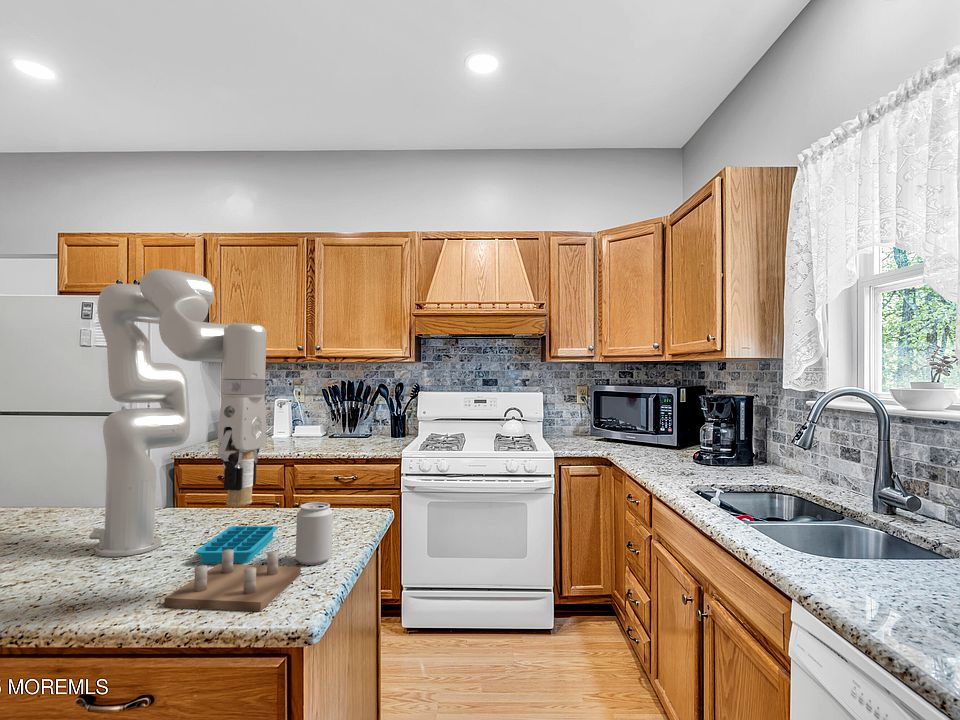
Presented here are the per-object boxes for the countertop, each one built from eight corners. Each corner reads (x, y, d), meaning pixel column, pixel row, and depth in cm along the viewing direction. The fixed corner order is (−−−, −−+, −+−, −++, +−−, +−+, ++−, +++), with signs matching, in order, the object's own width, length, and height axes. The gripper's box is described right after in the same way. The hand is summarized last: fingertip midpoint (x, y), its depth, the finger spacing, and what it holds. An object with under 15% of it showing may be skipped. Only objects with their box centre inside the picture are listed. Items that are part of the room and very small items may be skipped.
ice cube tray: (192, 567, 112) (193, 552, 112) (230, 538, 132) (230, 526, 132) (250, 566, 113) (250, 552, 113) (278, 538, 133) (279, 525, 133)
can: (338, 557, 119) (340, 502, 119) (317, 568, 112) (319, 510, 112) (310, 553, 121) (311, 499, 122) (287, 563, 114) (289, 506, 115)
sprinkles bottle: (221, 504, 100) (224, 431, 101) (245, 500, 104) (248, 430, 104) (233, 508, 97) (235, 433, 98) (257, 504, 101) (259, 432, 101)
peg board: (164, 606, 92) (165, 574, 92) (218, 571, 109) (219, 543, 109) (260, 611, 91) (261, 578, 91) (300, 574, 108) (301, 546, 108)
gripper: (239, 390, 93) (236, 497, 92) (282, 388, 110) (279, 479, 109) (197, 389, 93) (194, 496, 93) (246, 388, 110) (243, 478, 109)
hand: (240, 485), depth 101 cm, fingers closed on sprinkles bottle, 4 cm apart
